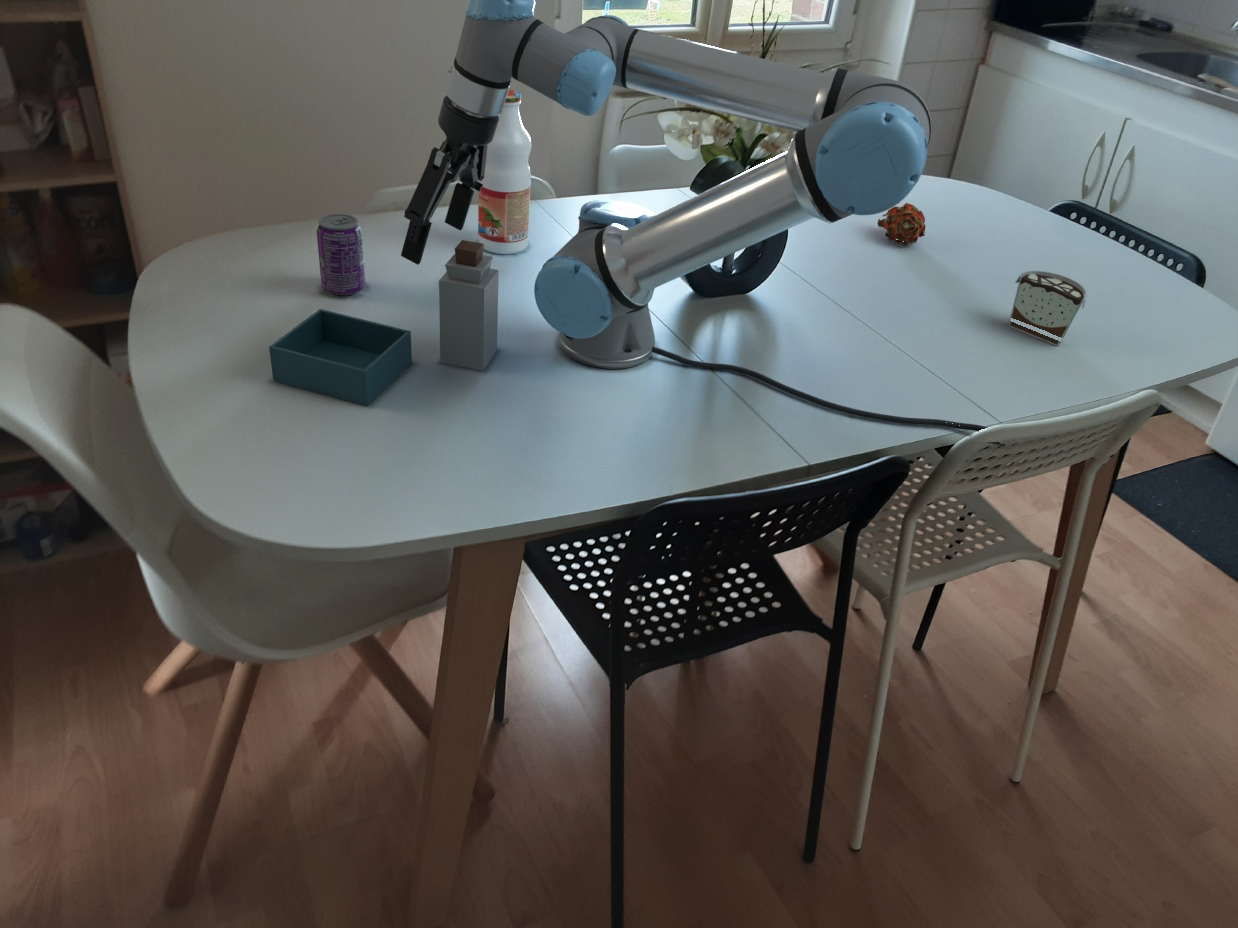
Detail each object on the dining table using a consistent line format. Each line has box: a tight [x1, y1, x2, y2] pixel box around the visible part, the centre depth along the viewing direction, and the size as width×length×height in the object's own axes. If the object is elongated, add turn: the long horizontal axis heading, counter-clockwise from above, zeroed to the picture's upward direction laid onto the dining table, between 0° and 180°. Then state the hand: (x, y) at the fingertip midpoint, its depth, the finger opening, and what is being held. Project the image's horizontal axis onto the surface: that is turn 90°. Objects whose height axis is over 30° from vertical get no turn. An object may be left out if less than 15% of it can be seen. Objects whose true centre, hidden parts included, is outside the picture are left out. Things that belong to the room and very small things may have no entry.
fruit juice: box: [477, 88, 532, 255], centre depth 175 cm, size 9×9×28 cm
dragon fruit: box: [877, 202, 926, 246], centre depth 202 cm, size 8×8×12 cm
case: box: [268, 308, 413, 407], centre depth 140 cm, size 15×13×6 cm
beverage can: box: [316, 213, 366, 296], centre depth 159 cm, size 7×7×12 cm
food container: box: [1007, 270, 1088, 347], centre depth 172 cm, size 12×6×10 cm, turn 47°
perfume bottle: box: [438, 239, 500, 372], centre depth 143 cm, size 7×7×18 cm
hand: (432, 242), depth 139 cm, fingers open, 13 cm apart
